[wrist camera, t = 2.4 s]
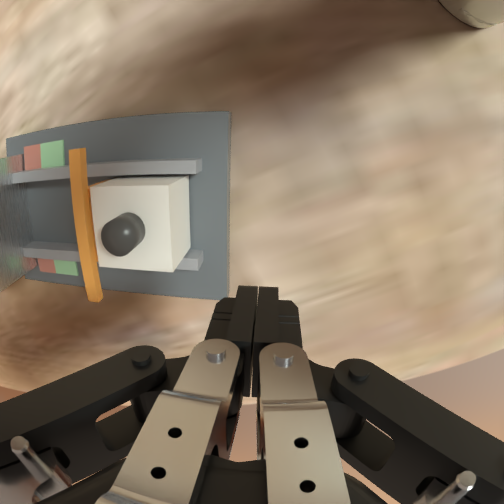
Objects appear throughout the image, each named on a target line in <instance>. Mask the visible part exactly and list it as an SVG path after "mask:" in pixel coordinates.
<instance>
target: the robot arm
mask: <svg viewBox="0 0 504 504" xmlns="http://www.w3.org/2000/svg"><path fill="white" fill-rule="evenodd" d="M439 2H440V3H441V4H442V5H443V6H444V7H445V8H446V9H447V10H448V11H449V12H450V13H451V14H453V15H454V16H455V17H456V18H458V19H459V20H461V21H462V22H464V23H466V24H468V25H470V26H473V27H476V28H488V27H491V26H494V25H497V24H499V23H502V22H504V0H439ZM257 296H258V304H257ZM252 368H253V374H252ZM251 378H252V397H257V410H256V429H257V460H254V461H246V462H234V461H230V460H229V458H230V453H231V449H232V444H233V441H234V437H235V432H236V428H237V424H238V420H239V416H240V408H241V406H242V399H243V396H244V397H250V388H251ZM129 400H130V401H131V404H132V405H130V406H128V407H127V408H125V409H123V410H121V411H119V412H117V413H115V414H113V415H111V416H109V417H107V418H105V419H103V420H101V421H98V422H96V419H97V418H98V417H99V416H100V415H101V414H103V413H105V412H107V411H109V410H111V409H113V408H115V407H117V406H119V405H121V404H123V403H125V402H127V401H129ZM366 419H367V420H368V421H370V422H371V423H372V424H374V425H375V426H377V427H378V428H379V429H381V430H382V431H384V432H385V433H386V434H388V435H389V436H390V437H391V438H392V439H393V440H392V439H391V438H389V437H388V436H387V435H385V434H384V433H382V432H381V431H379V430H378V429H377V428H375V427H374V426H373V425H371V424H370V423H369V422H367V421H366ZM126 456H127V458H125V457H126ZM340 457H341V458H342V459H343V460H344V461H346V462H347V463H348V464H349V465H351V466H352V467H353V468H354V469H356V470H357V471H358V472H359V473H361V474H362V475H364V476H365V477H366V478H367V479H368V480H370V481H371V482H372V483H373V484H375V485H376V486H377V487H379V488H380V489H381V490H383V491H384V492H386V493H387V494H388V495H390V496H391V497H392V498H394V499H395V500H397V501H398V502H399V503H401V504H504V442H502V441H501V440H499V439H497V438H495V437H494V436H492V435H490V434H488V433H487V432H485V431H483V430H481V429H480V428H478V427H476V426H474V425H473V424H471V423H470V422H468V421H466V420H464V419H463V418H461V417H459V416H458V415H456V414H454V413H453V412H451V411H449V410H447V409H446V408H444V407H443V406H441V405H439V404H438V403H436V402H434V401H433V400H431V399H429V398H428V397H426V396H424V395H423V394H421V393H419V392H418V391H416V390H415V389H413V388H411V387H410V386H408V385H406V384H405V383H403V382H402V381H400V380H398V379H397V378H395V377H394V376H392V375H390V374H389V373H387V372H386V371H384V370H382V369H381V368H379V367H378V366H376V365H374V364H373V363H371V362H369V361H366V360H363V359H347V360H344V361H342V362H340V363H339V364H338V365H337V366H336V367H335V369H334V368H329V367H325V366H321V365H318V364H316V363H314V362H312V361H311V360H309V359H308V357H307V354H306V352H305V351H304V350H303V347H302V338H301V329H300V321H299V312H298V307H297V306H296V305H295V304H294V303H293V302H292V301H289V300H278V287H260V286H259V294H258V286H240V285H239V286H238V290H237V294H236V298H228V297H224V298H223V299H221V300H220V301H219V302H218V303H217V304H216V306H215V309H214V313H213V315H212V320H211V321H210V324H209V327H208V330H207V334H206V337H205V340H204V341H202V342H200V343H198V344H197V345H196V346H195V347H194V348H193V350H192V352H191V354H190V355H189V356H186V357H181V358H172V359H165V356H164V354H163V352H162V351H161V350H159V349H158V348H156V347H153V346H145V345H144V346H136V347H132V348H130V349H128V350H125V351H123V352H121V353H119V354H116V355H114V356H112V357H110V358H107V359H105V360H103V361H101V362H98V363H96V364H94V365H91V366H89V367H87V368H84V369H82V370H80V371H78V372H75V373H73V374H70V375H68V376H66V377H63V378H61V379H59V380H56V381H54V382H52V383H49V384H47V385H44V386H42V387H39V388H37V389H35V390H32V391H30V392H27V393H25V394H22V395H20V396H17V397H15V398H12V399H10V400H7V401H5V402H2V403H0V504H387V503H386V502H385V501H384V500H382V499H381V498H380V497H379V496H378V495H376V494H375V493H374V492H373V491H371V490H370V489H369V488H368V487H366V485H364V484H363V483H362V482H360V481H358V480H357V479H356V478H354V477H352V476H350V475H348V474H346V473H344V472H343V468H342V464H341V460H340ZM123 458H124V459H123ZM98 471H99V472H98ZM96 472H97V473H96ZM94 473H95V474H94ZM92 474H93V475H92ZM90 475H91V476H90ZM88 476H89V477H88ZM86 477H88V478H86ZM84 478H86V479H84ZM81 479H84V480H82V481H80V482H78V483H76V484H74V485H72V484H73V483H75V482H77V481H79V480H81Z"/></svg>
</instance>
